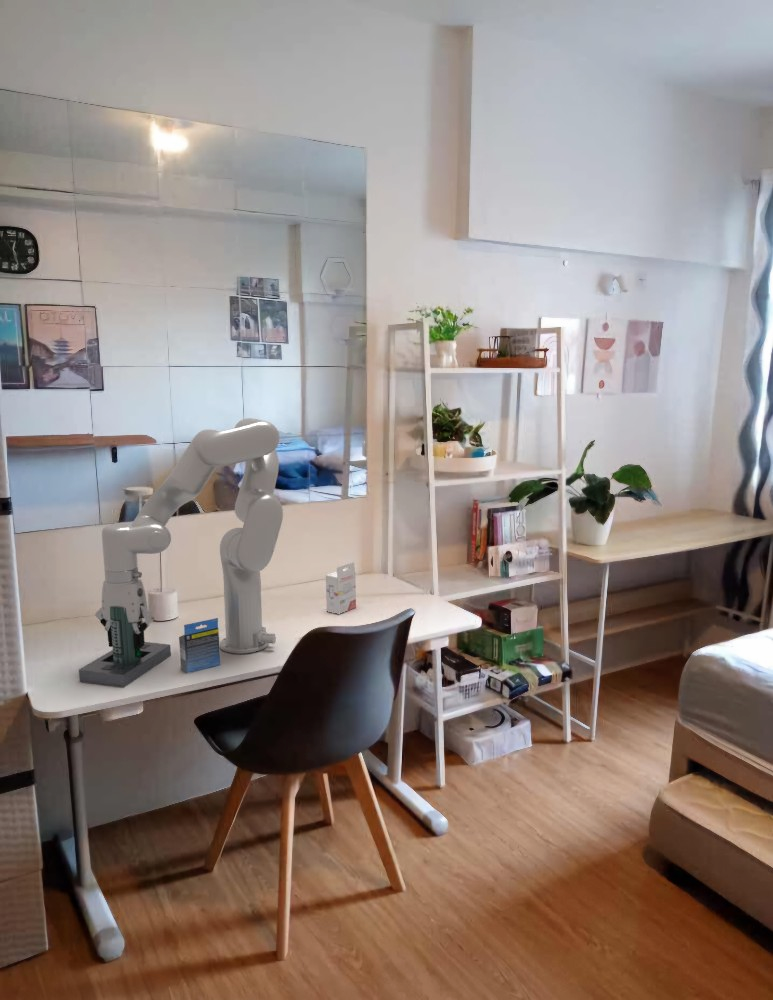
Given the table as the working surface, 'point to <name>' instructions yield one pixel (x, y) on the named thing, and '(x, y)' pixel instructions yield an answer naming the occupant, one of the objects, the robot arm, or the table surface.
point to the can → (123, 638)
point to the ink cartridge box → (341, 589)
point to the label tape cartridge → (199, 646)
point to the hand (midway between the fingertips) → (126, 645)
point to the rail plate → (124, 666)
